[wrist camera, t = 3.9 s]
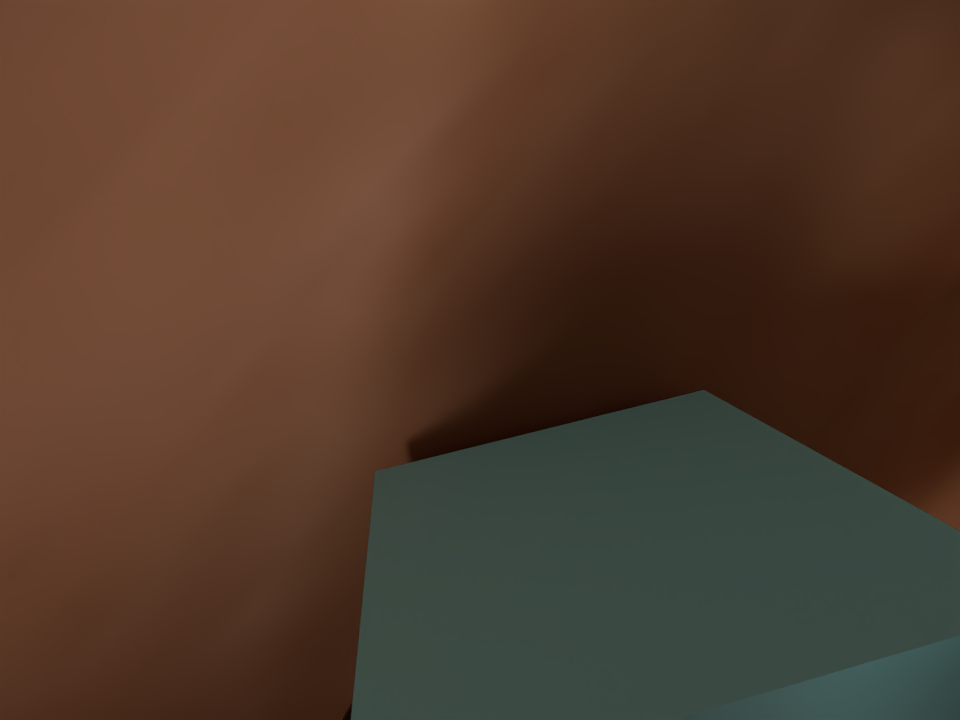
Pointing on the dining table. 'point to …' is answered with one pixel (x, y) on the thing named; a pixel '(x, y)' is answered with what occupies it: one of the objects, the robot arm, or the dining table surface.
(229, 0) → the dining table surface
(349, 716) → the robot arm
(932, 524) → the teal block
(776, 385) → the dining table surface
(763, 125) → the dining table surface
